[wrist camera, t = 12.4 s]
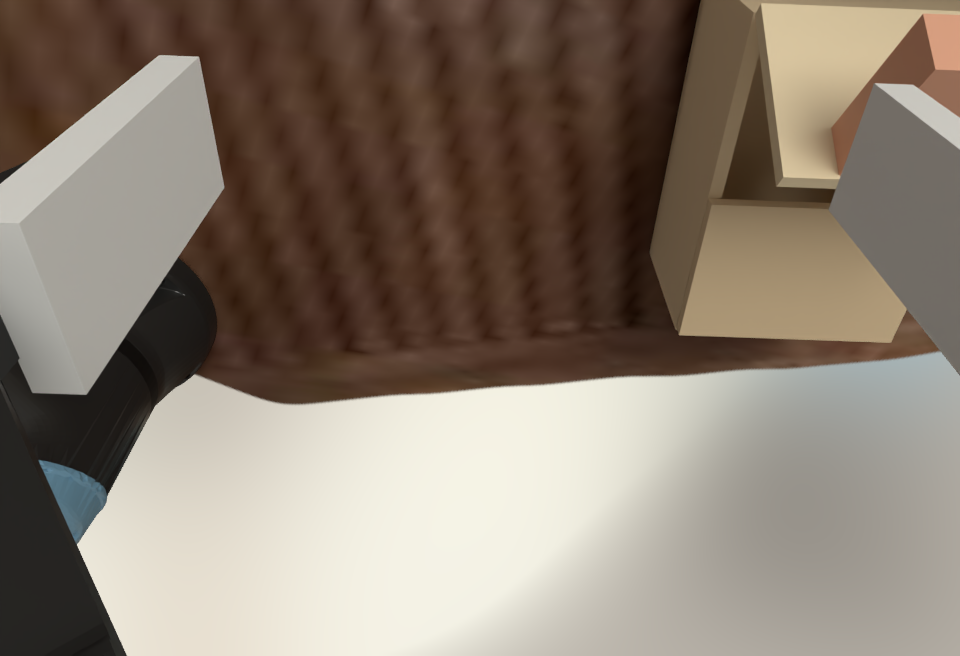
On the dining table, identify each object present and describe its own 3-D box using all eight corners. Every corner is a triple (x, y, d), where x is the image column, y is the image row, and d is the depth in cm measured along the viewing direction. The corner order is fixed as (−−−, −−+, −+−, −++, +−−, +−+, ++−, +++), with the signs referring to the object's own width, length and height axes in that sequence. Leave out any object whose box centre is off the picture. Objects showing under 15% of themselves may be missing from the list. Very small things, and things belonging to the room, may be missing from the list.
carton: (649, 252, 56) (678, 338, 48) (706, -29, 44) (759, 17, 36) (829, 259, 56) (891, 345, 48) (934, -19, 44) (1043, 28, 36)
